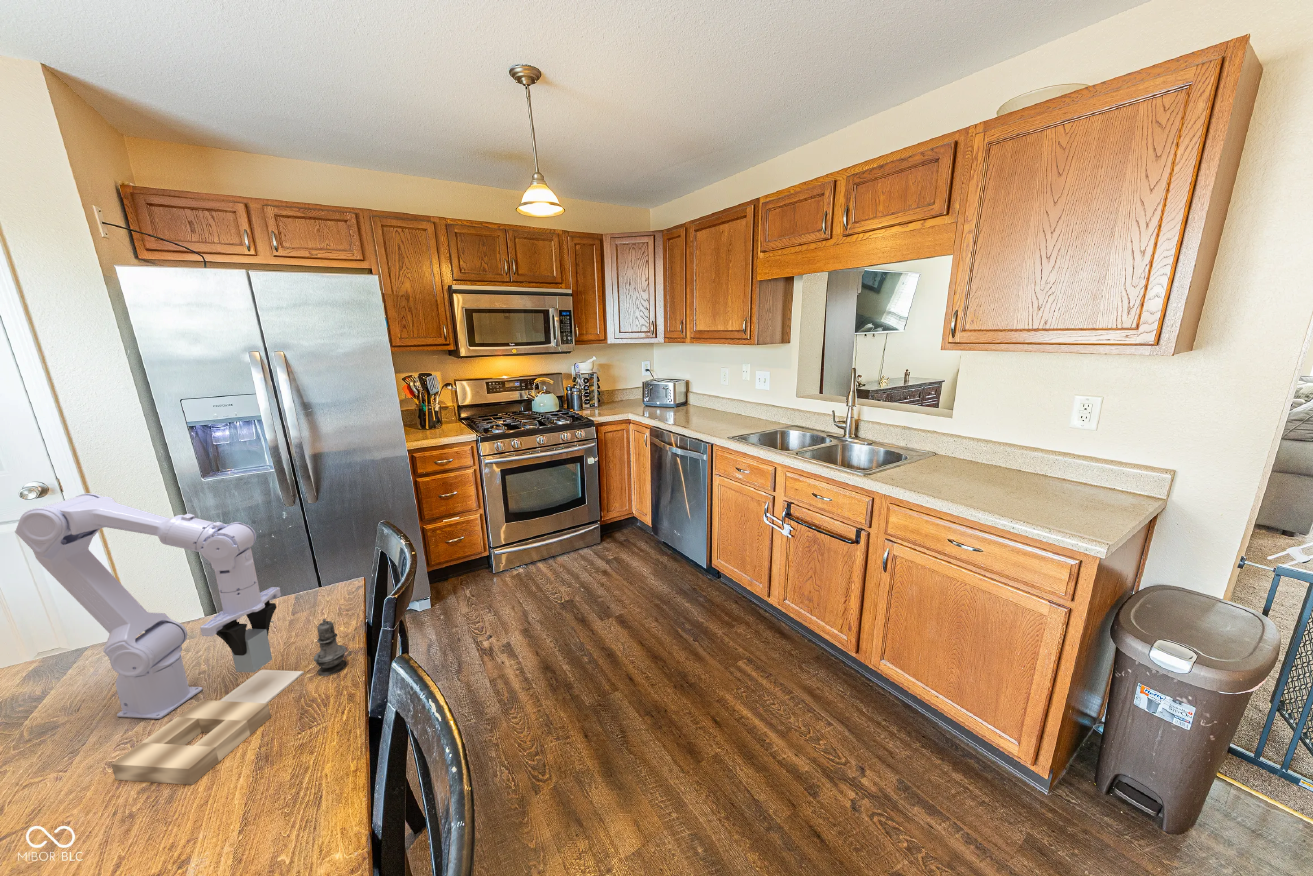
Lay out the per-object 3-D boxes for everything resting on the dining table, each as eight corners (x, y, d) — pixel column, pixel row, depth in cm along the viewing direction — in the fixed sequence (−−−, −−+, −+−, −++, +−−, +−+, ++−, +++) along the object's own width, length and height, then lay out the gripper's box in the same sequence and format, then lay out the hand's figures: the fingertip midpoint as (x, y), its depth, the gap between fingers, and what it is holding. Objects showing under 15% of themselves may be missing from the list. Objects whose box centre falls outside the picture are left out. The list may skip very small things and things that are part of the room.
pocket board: (115, 779, 76) (110, 764, 75) (204, 713, 89) (201, 700, 89) (192, 784, 74) (188, 769, 74) (270, 717, 88) (268, 703, 87)
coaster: (215, 705, 91) (214, 704, 91) (261, 671, 101) (261, 669, 101) (261, 708, 90) (261, 706, 90) (303, 673, 100) (303, 671, 100)
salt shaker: (331, 678, 98) (323, 627, 96) (309, 675, 99) (299, 625, 97) (354, 660, 104) (346, 612, 102) (333, 657, 105) (324, 609, 103)
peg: (236, 671, 93) (229, 640, 91) (254, 658, 96) (248, 628, 95) (254, 672, 92) (247, 641, 91) (272, 659, 96) (266, 629, 95)
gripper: (219, 606, 83) (234, 672, 86) (289, 568, 98) (299, 626, 100) (184, 604, 84) (200, 670, 87) (258, 568, 98) (270, 625, 101)
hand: (251, 647), depth 94 cm, fingers closed on peg, 4 cm apart
